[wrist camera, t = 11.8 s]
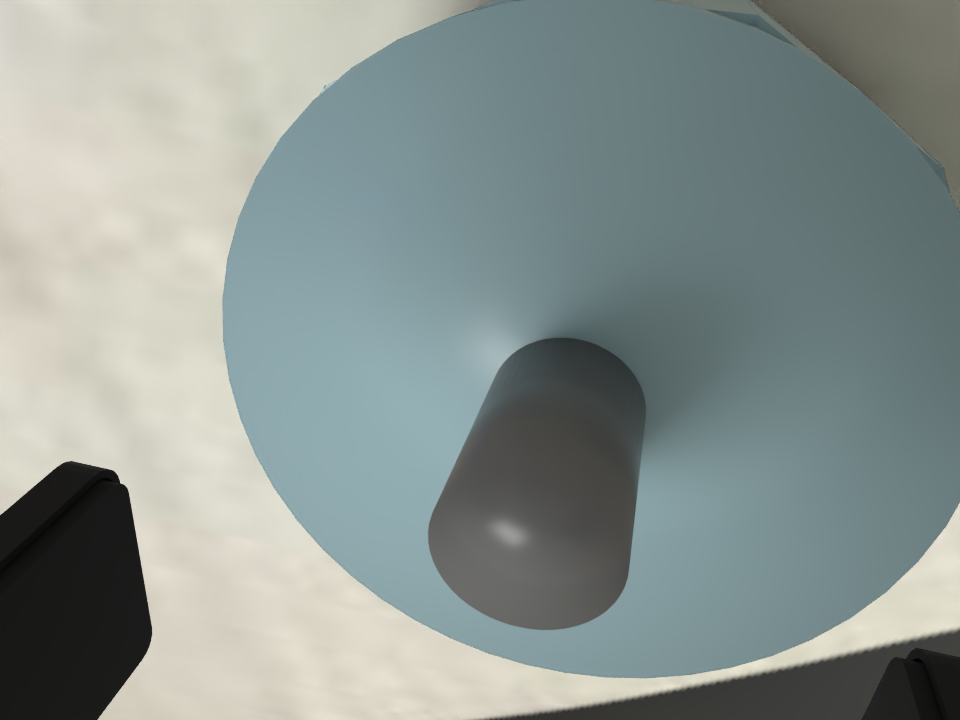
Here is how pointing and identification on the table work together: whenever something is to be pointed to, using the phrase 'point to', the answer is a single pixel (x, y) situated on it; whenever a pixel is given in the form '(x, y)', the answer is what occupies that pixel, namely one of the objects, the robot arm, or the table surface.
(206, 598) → the table surface
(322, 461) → the squat blue cylinder
